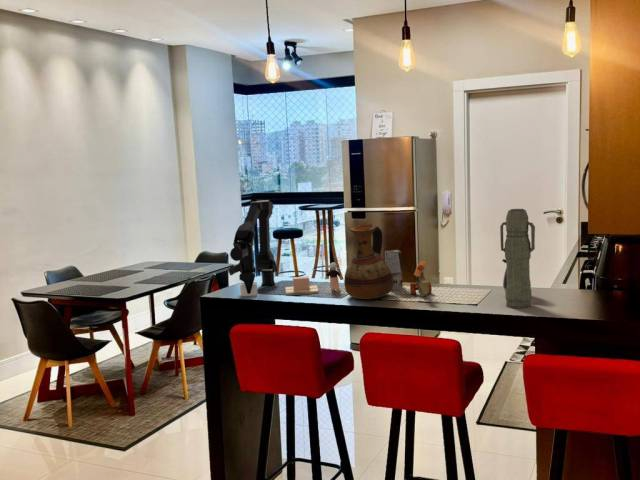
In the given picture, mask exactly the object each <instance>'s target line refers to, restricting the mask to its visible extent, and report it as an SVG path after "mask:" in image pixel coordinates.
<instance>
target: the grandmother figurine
mask: <svg viewBox="0 0 640 480" xmlns="http://www.w3.org/2000/svg"><path fill="white" fill-rule="evenodd" d="M328 268H329V269H330V270H329V271H328V272H326V274H325V277H324V279H325V280H328V278H329V283H330V284H329V286H330V293H334V292H336V293H338V292H339V293H340V292H341V291H342V290H341V289H340V282H339V279H340V280H343V277H342V275H341V273H340V271H338V270H337V262H334V261H333V262H330V264H329V267H328Z"/></svg>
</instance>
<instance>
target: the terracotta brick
mask: <svg viewBox="0 0 640 480" xmlns="http://www.w3.org/2000/svg"><path fill="white" fill-rule="evenodd" d="M292 282H293V283H292V286H293V288H294V290H308V289H310V277H309V276H294V277H292Z"/></svg>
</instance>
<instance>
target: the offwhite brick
mask: <svg viewBox="0 0 640 480" xmlns="http://www.w3.org/2000/svg"><path fill="white" fill-rule="evenodd" d="M239 288H240V297H253V296H258V282H257V281H254V282H253V285H252V289H251V292H250V294H248V293H247V290H246V287H245V283H244V282H241V283H240V285H239Z"/></svg>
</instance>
